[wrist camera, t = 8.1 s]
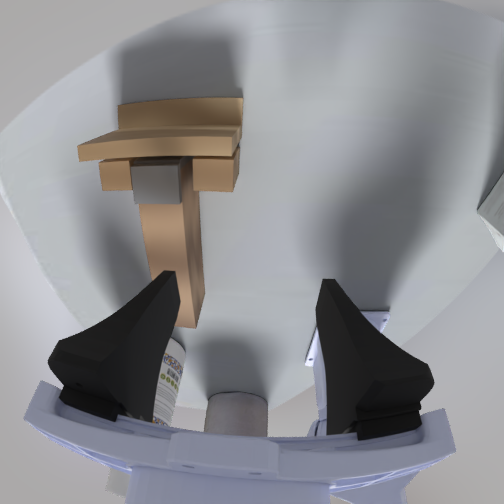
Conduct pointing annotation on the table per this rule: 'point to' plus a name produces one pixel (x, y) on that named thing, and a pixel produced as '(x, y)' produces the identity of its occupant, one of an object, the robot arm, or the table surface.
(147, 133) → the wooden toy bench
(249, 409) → the pillar candle
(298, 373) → the table surface
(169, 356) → the bath foam
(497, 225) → the supplement box
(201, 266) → the brown wooden block
